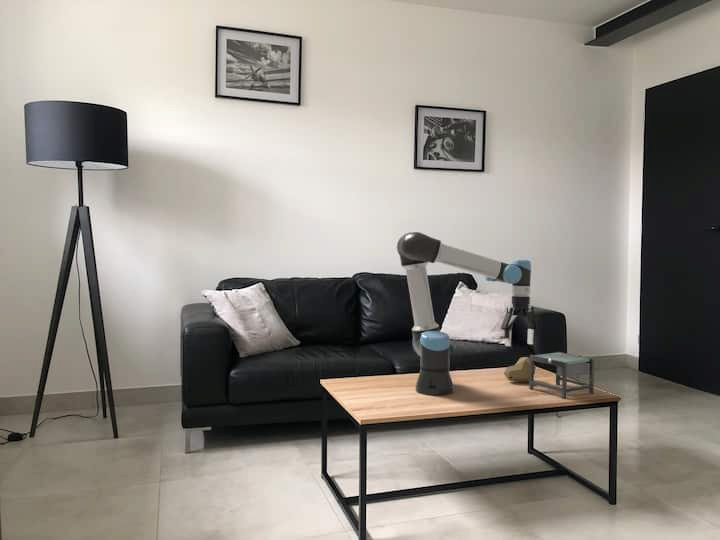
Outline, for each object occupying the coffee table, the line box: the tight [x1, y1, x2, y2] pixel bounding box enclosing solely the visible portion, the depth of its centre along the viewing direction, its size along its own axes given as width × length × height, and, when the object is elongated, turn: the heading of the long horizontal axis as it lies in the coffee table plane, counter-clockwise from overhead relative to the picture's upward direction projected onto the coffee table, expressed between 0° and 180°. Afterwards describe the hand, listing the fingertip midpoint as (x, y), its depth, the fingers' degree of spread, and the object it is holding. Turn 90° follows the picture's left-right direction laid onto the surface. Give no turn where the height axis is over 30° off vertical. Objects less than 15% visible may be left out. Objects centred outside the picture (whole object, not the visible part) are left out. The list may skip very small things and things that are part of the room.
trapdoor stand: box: [528, 351, 595, 400], centre depth 240 cm, size 18×18×14 cm
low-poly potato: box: [503, 356, 536, 383], centre depth 256 cm, size 15×11×12 cm
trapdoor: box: [533, 352, 590, 377], centre depth 240 cm, size 14×16×6 cm
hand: (519, 345), depth 255 cm, fingers open, 13 cm apart
